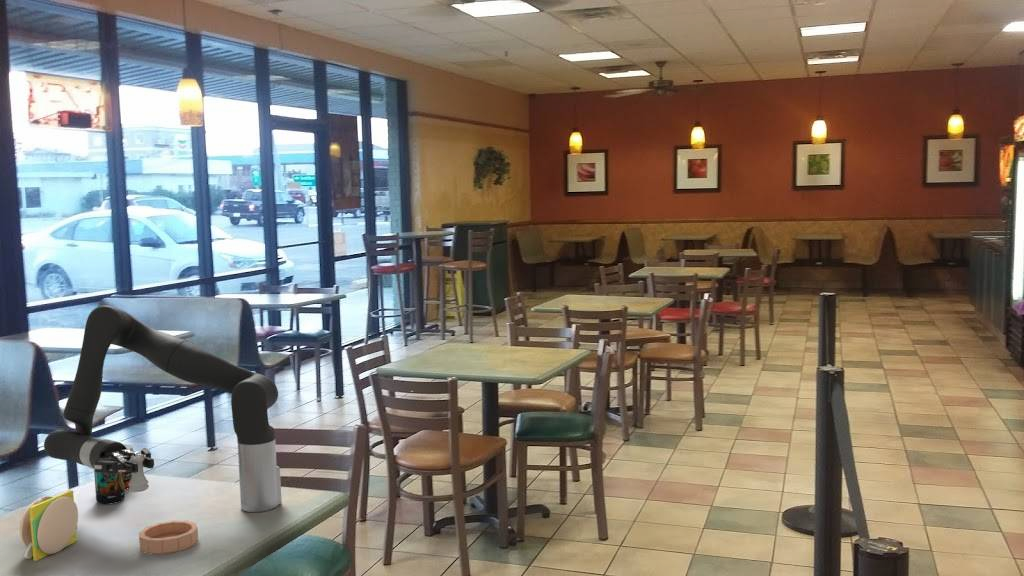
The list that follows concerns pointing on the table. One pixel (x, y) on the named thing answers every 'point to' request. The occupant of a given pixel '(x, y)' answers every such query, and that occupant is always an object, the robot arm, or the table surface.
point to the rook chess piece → (138, 476)
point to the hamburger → (49, 525)
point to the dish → (168, 537)
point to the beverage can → (109, 487)
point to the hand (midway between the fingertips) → (144, 465)
